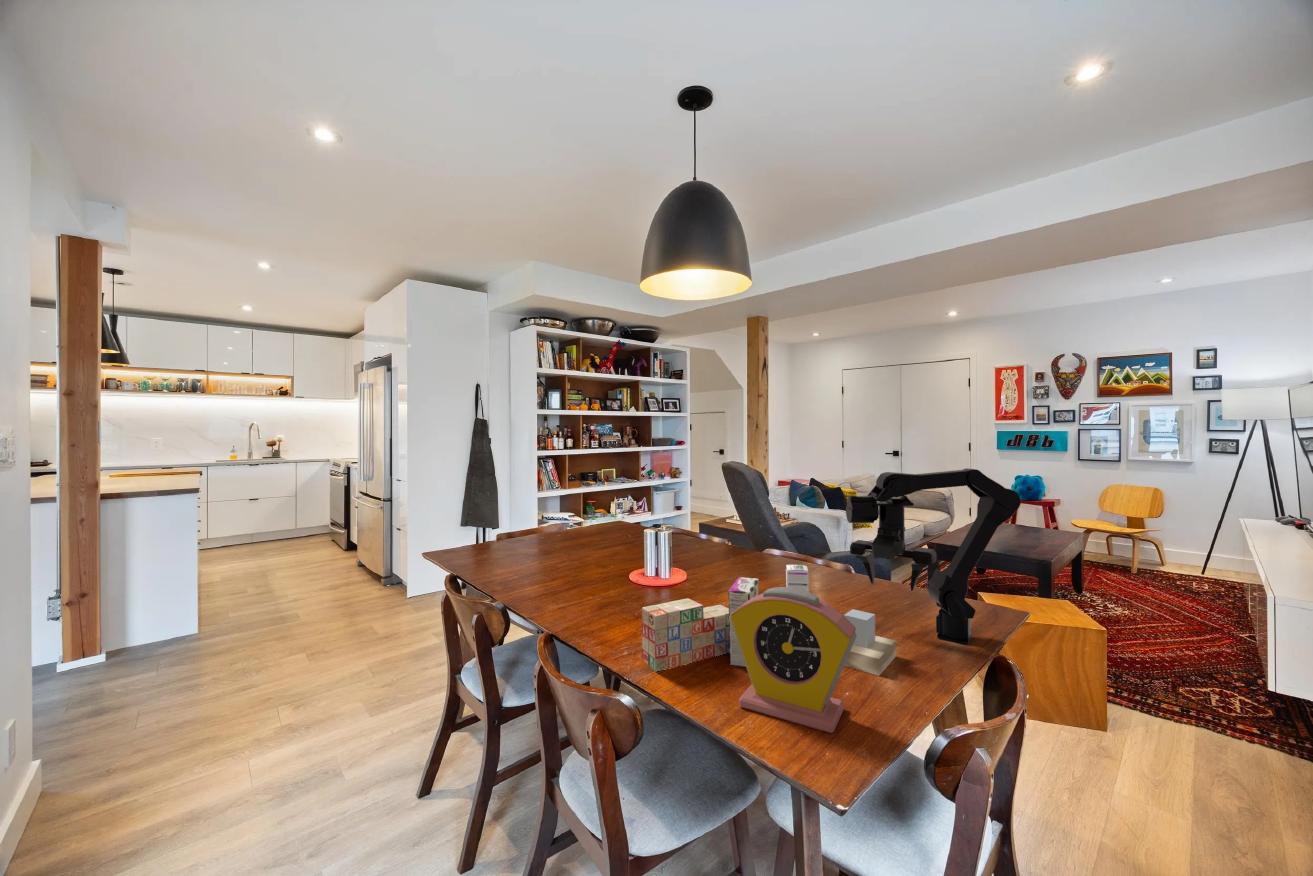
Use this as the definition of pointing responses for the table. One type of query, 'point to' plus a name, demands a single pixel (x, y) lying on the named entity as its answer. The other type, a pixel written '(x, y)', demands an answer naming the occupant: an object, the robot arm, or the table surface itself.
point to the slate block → (862, 627)
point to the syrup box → (797, 577)
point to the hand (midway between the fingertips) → (891, 586)
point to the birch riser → (872, 656)
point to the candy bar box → (737, 597)
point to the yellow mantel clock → (793, 655)
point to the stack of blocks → (683, 633)
